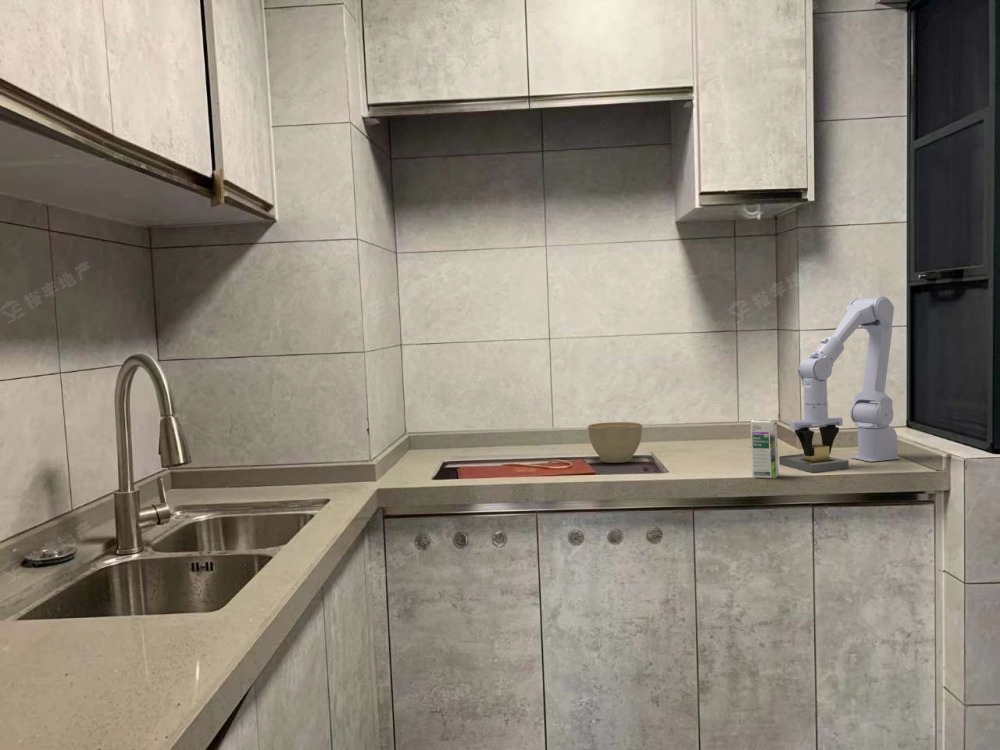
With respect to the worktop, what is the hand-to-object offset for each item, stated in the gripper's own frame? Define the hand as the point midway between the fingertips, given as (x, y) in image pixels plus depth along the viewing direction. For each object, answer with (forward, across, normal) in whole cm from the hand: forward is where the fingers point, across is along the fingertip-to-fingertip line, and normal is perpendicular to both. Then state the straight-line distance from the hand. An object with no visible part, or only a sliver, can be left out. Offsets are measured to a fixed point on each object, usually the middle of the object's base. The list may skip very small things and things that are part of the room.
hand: (817, 454), depth 203 cm
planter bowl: (+4, +41, -39) cm, 56 cm away
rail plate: (+3, 0, -2) cm, 4 cm away
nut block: (+4, 0, 0) cm, 4 cm away
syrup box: (+4, +18, +3) cm, 18 cm away
